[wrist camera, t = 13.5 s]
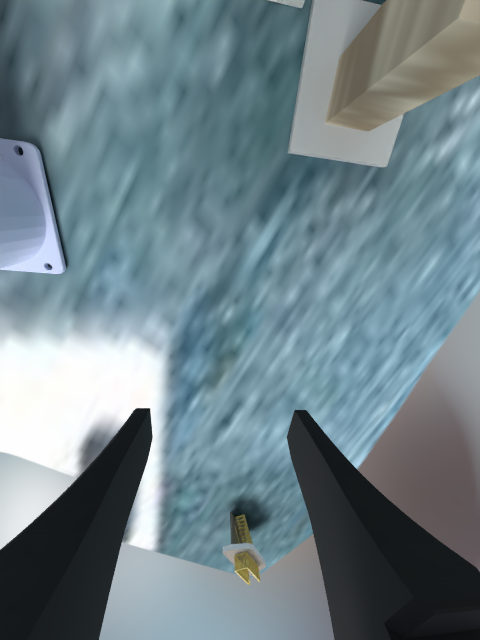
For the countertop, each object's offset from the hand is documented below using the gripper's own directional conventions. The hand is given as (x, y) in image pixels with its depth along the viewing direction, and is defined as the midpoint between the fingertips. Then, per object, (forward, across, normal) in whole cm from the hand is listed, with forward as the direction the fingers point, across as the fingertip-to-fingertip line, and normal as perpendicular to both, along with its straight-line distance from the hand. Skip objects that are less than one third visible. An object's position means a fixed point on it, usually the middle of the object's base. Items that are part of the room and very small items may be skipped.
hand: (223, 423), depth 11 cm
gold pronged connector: (+11, -6, +35) cm, 38 cm away
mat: (+10, -7, -17) cm, 21 cm away
